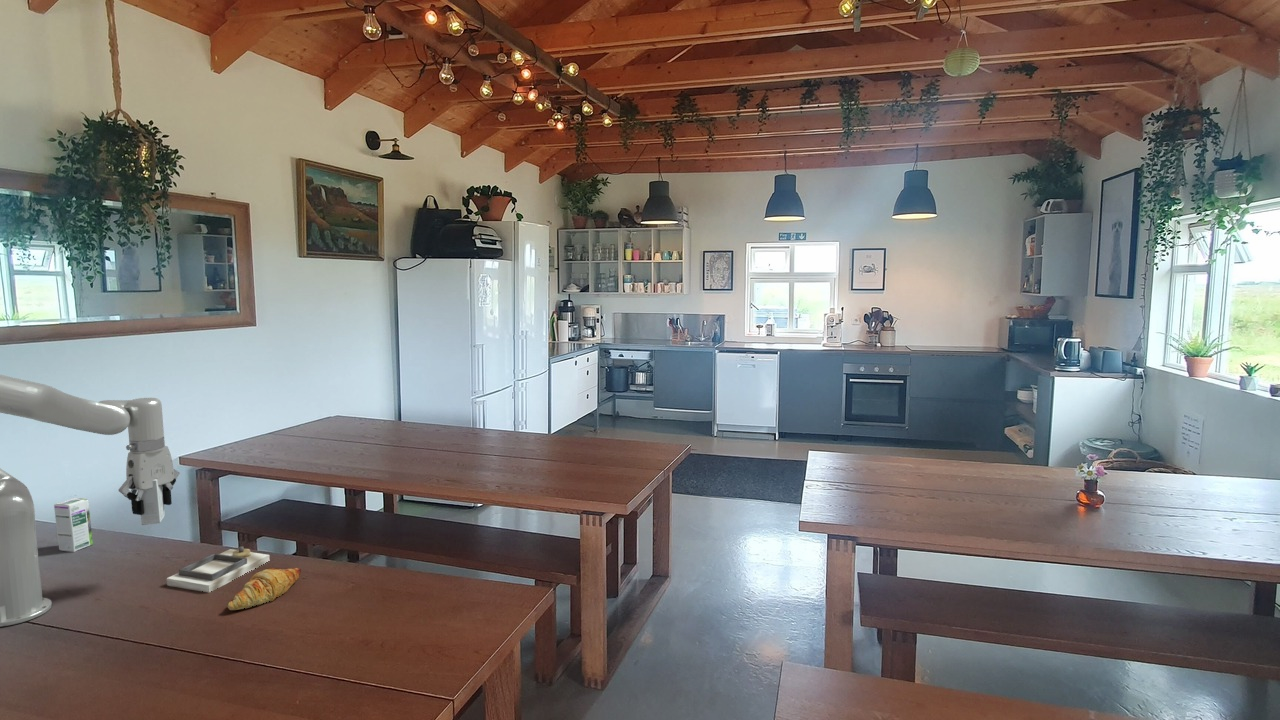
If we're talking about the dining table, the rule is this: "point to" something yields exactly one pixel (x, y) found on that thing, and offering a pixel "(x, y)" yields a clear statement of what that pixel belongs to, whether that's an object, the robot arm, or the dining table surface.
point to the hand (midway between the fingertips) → (152, 508)
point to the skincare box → (153, 505)
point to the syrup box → (73, 524)
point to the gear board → (217, 570)
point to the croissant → (264, 587)
